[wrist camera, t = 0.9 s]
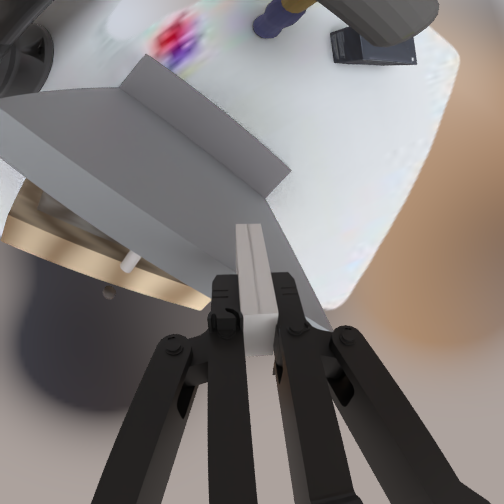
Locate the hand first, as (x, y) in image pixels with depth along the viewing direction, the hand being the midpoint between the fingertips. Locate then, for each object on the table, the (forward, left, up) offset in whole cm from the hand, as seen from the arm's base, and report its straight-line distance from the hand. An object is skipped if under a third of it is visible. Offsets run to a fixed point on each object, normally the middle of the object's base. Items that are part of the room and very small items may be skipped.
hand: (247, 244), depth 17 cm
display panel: (-3, -3, -30) cm, 30 cm away
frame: (-9, -13, -24) cm, 29 cm away
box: (+5, +27, -30) cm, 41 cm away
